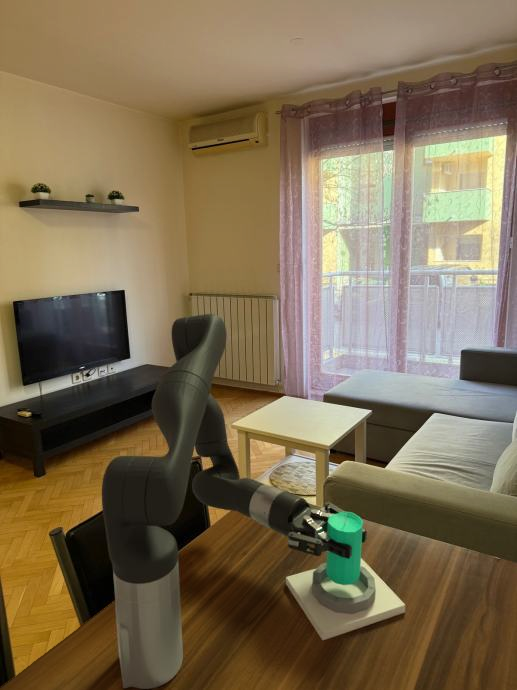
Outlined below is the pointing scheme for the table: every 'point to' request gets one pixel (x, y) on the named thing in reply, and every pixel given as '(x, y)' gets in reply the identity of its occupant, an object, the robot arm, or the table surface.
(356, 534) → the candle
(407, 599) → the table surface
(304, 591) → the jig plate
